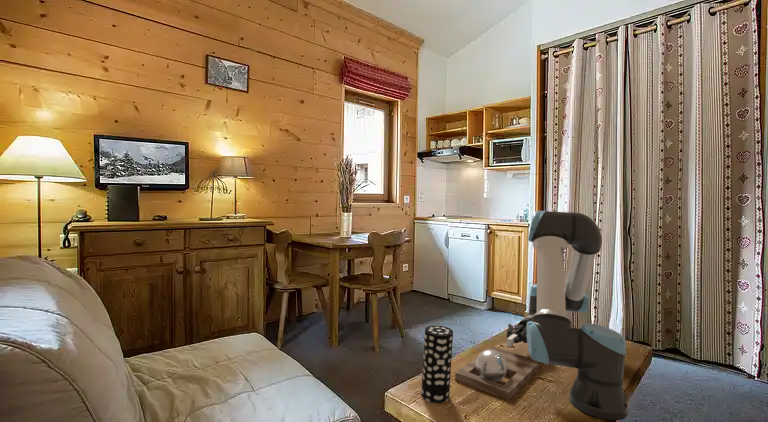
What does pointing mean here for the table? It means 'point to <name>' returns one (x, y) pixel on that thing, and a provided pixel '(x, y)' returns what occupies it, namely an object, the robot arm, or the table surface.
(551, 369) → the table surface
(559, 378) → the table surface
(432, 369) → the white-spotted black cylinder
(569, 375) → the table surface
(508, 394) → the brown wooden frame
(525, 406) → the table surface
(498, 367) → the steel ball
